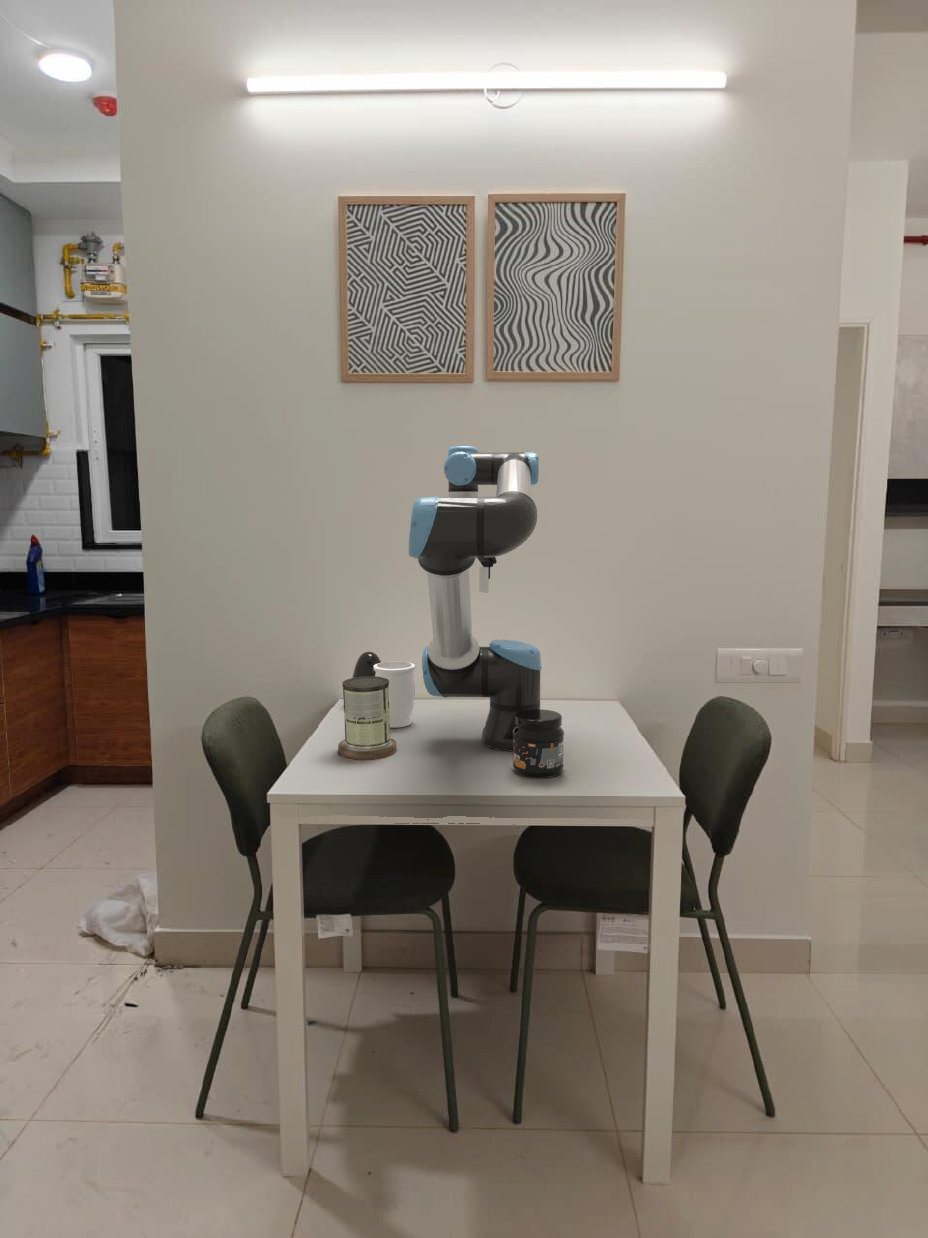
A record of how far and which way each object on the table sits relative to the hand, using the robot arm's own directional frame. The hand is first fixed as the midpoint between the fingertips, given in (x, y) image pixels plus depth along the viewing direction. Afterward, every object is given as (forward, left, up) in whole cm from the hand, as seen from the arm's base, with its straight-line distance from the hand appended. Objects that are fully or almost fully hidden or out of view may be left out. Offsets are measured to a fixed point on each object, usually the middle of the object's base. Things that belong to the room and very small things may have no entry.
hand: (463, 594), depth 207 cm
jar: (+5, +18, -32) cm, 37 cm away
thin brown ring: (-9, +35, -32) cm, 48 cm away
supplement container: (-43, +15, -32) cm, 56 cm away
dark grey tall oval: (+23, +14, -32) cm, 42 cm away
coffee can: (-9, +35, -30) cm, 47 cm away
